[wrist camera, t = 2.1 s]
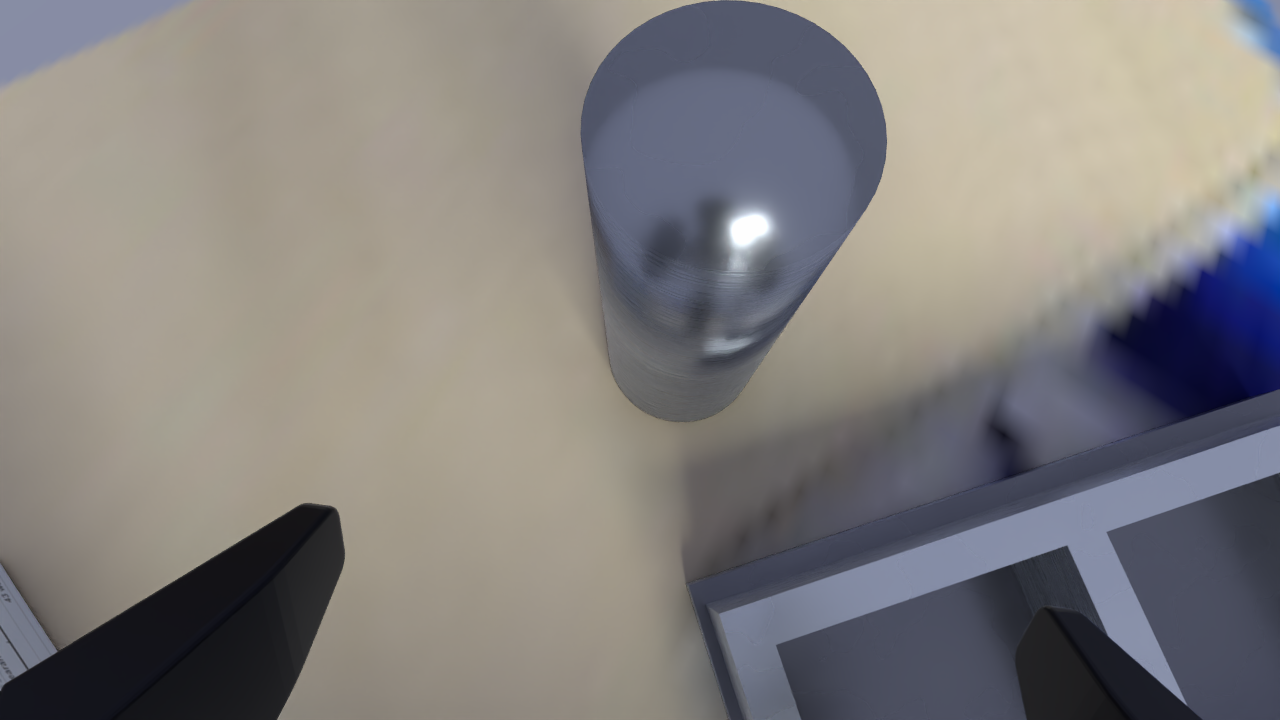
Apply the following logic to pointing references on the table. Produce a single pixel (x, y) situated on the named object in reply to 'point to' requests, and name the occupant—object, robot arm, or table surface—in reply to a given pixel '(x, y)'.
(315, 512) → the robot arm
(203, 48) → the table surface
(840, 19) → the table surface
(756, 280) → the shiny gray cylinder
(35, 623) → the light bulb box
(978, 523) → the gray divided tray
